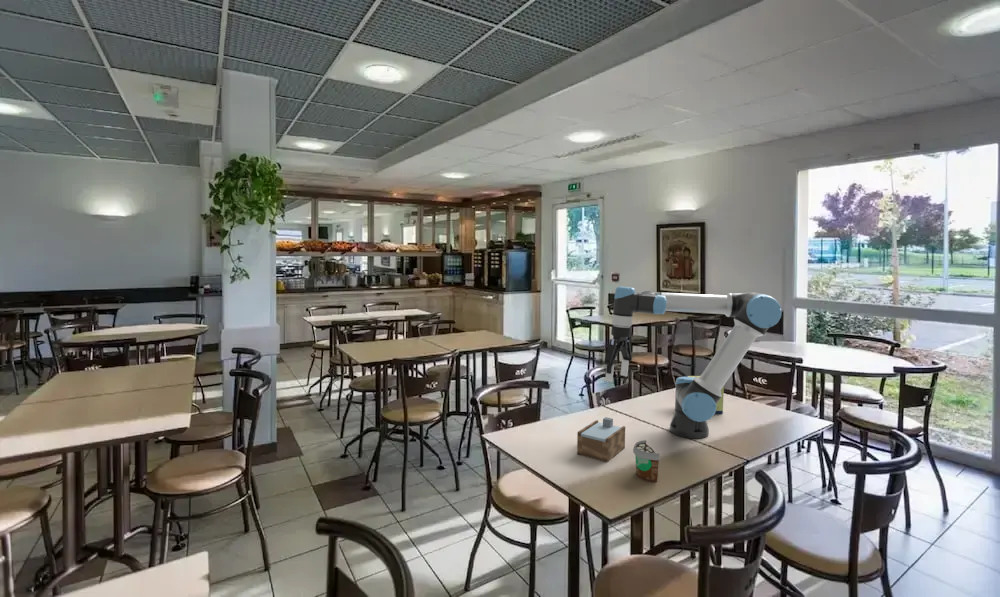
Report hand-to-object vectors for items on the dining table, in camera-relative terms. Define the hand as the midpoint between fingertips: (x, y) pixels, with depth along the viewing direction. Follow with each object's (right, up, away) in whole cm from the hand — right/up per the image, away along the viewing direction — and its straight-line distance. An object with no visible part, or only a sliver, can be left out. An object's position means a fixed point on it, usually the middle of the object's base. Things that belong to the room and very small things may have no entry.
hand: (616, 378), depth 195 cm
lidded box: (-8, -26, -10) cm, 29 cm away
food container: (+1, -28, -31) cm, 42 cm away
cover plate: (-8, -19, -11) cm, 23 cm away
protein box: (+50, -22, +37) cm, 66 cm away
